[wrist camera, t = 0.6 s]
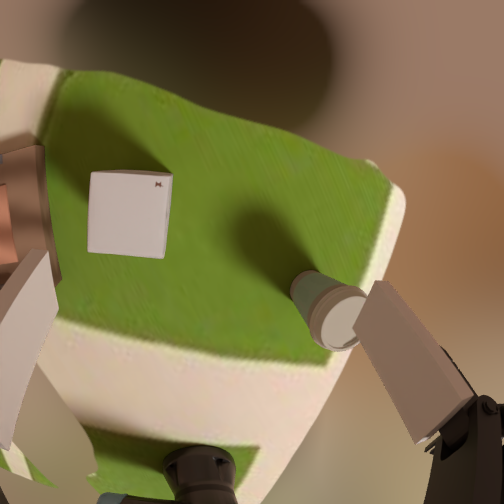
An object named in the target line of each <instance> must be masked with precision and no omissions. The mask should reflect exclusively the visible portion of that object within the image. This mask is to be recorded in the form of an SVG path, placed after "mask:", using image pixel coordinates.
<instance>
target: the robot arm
mask: <svg viewBox="0 0 504 504" xmlns="http://www.w3.org/2000/svg"><path fill="white" fill-rule="evenodd" d="M58 310H59V307H58V303H57V298H56V293H55V288H54V283H53V277H52V271H51V265H50V259H49V252H48V250H39V249H31V250H30V252H29V253H28V254H27V255H26V257H25V258H24V259H23V260H22V262H21V263H20V264H19V266H18V267H17V268H16V270H15V271H14V272H13V274H12V275H11V276H10V278H9V279H8V280H7V282H6V283H5V285H4V286H3V287H2V289H1V290H0V448H2V449H5V450H7V451H9V450H10V445H11V441H12V437H13V433H14V429H15V425H16V422H17V418H18V415H19V411H20V408H21V405H22V401H23V398H24V395H25V392H26V389H27V386H28V383H29V380H30V377H31V375H32V372H33V369H34V366H35V364H36V361H37V359H38V356H39V353H40V351H41V348H42V346H43V344H44V341H45V339H46V336H47V334H48V332H49V329H50V327H51V325H52V323H53V320H54V318H55V316H56V314H57V312H58ZM352 329H353V331H354V332H355V334H356V336H357V337H358V339H359V341H360V343H361V344H362V346H363V348H364V350H365V352H366V353H367V355H368V357H369V359H370V360H371V362H372V364H373V366H374V368H375V369H376V371H377V373H378V375H379V377H380V378H381V380H382V382H383V384H384V386H385V388H386V390H387V391H388V393H389V395H390V397H391V399H392V401H393V403H394V405H395V406H396V408H397V410H398V412H399V414H400V416H401V418H402V420H403V422H404V424H405V426H406V428H407V430H408V432H409V434H410V436H411V437H412V440H413V441H414V444H415V445H416V444H418V443H421V442H423V441H426V440H428V439H429V438H431V437H432V436H433V435H434V434H435V433H436V432H437V431H438V430H439V432H440V434H441V435H440V436H439V437H437V438H436V439H435V440H434V441H433V442H431V443H430V444H429V445H428V446H427V447H426V448H425V451H424V452H427V451H428V450H430V449H431V448H432V447H433V446H435V448H434V449H432V450H431V452H430V454H433V455H434V456H433V462H432V468H431V473H430V478H429V483H428V487H427V491H426V496H425V500H424V504H504V445H503V446H502V439H503V438H504V404H497V403H496V402H495V401H494V400H493V399H492V398H491V397H489V396H486V395H481V396H480V397H478V395H477V394H476V393H475V391H474V390H473V388H472V387H471V385H470V384H469V382H468V381H467V380H466V378H465V377H464V375H463V374H462V372H461V371H460V370H459V369H458V367H457V365H456V364H455V363H454V362H453V360H452V358H451V357H450V356H449V354H448V353H447V352H446V350H444V349H443V348H442V347H441V346H440V345H438V343H437V342H436V340H435V339H434V338H433V336H432V335H431V334H430V332H429V331H428V330H427V329H426V327H425V326H424V325H423V323H422V322H421V321H420V320H419V318H418V317H417V316H416V315H415V313H414V312H413V311H412V309H411V308H410V307H409V306H408V305H407V303H406V302H405V301H404V300H403V298H402V297H401V296H400V295H399V294H398V292H397V291H396V290H395V289H394V288H393V286H392V285H391V284H390V283H389V282H388V281H376V280H375V282H374V284H373V286H372V289H371V291H370V293H369V295H368V297H367V299H366V301H365V303H364V305H363V307H362V309H361V311H360V313H359V315H358V317H357V319H356V321H355V323H354V325H353V327H352ZM163 474H164V477H165V479H166V481H167V483H168V484H169V486H170V488H171V490H172V492H173V494H174V496H175V500H163V499H153V498H145V497H138V496H131V495H128V494H118V493H110V492H106V493H103V494H101V495H100V497H99V499H98V501H97V504H238V503H237V500H236V497H235V493H234V482H235V474H236V466H235V462H234V459H233V457H232V456H231V454H229V453H228V452H226V451H225V450H222V449H219V448H216V447H210V446H193V447H187V448H182V449H179V450H176V451H174V452H172V453H171V454H169V455H168V456H167V457H166V458H165V459H164V461H163ZM0 504H9V503H8V501H7V499H6V497H5V495H4V493H3V491H2V489H1V487H0Z"/></svg>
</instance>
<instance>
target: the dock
mask: <svg viewBox="0 0 504 504" xmlns="http://www.w3.org/2000/svg"><path fill="white" fill-rule="evenodd" d="M31 249H39V250H48V252H49V259H50V265H51V271H52V277H53V283H54V287H56V286H57V284H58V283H59V282H60V281H61V280H62V276H61V271H60V267H59V262H58V257H57V252H56V247H55V242H54V236H53V230H52V224H51V217H50V209H49V201H48V192H47V182H46V169H45V149H44V146H39V145H33V146H29V147H25V148H22V149H18V150H15V151H12V152H8V153H5V154H0V290H1V289H2V287H3V286H4V285H5V283H6V282H7V280H8V279H9V278H10V276H11V275H12V274H13V272H14V271H15V270H16V268H17V267H18V266H19V264H20V263H21V262H22V260H23V259H24V258H25V257H26V255H27V254H28V253H29V252H30V250H31Z"/></svg>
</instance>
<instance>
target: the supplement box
mask: <svg viewBox="0 0 504 504" xmlns="http://www.w3.org/2000/svg"><path fill="white" fill-rule="evenodd" d="M172 181H173V174H172V173H164V172H154V171H142V170H105V171H94V172H91V178H90V188H89V204H88V234H87V242H88V252H95V253H109V254H118V255H129V256H139V257H149V258H159V259H162V258H164V255H165V249H166V240H167V231H168V222H169V214H170V205H171V194H172Z"/></svg>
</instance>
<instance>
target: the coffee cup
mask: <svg viewBox="0 0 504 504" xmlns="http://www.w3.org/2000/svg"><path fill="white" fill-rule="evenodd" d="M290 296H291V299H292V300H293V302H294V304H295V306H296V307H297V309H298V311H299V312H300V314H301V316H302V317H303V319H304V321H305V322H306V324H307V326H308V327H309V329H310V333H311V336H312V338H313V340H314V341H315V342H316V343H317V344H318V345H320V346H321V347H323V348H326V349H329V350H332V351H337V352H340V351H346V350H349V349H351V348H353V347H354V346H356V345H357V344H359V343H360V341H359V339H358V337H357V336H356V334H355V332H354V331H353V329H352V327H353V325H354V323H355V321H356V319H357V317H358V315H359V313H360V311H361V309H362V307H363V305H364V303H365V301H366V299H367V297H368V296H367V295H366V294H365V292H364V291H363V290H361V289H360V288H358V287H355V286H348V285H346V284H344V283H341V282H339V281H337V280H335V279H333V278H330V277H328V276H326V275H324V274H322V273H319V272H317V271H314V270H308V271H304V272H302V273H300V274H299V275H298V276H297V277H296V278H295V279H294V280H293V282H292V284H291V287H290Z"/></svg>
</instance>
